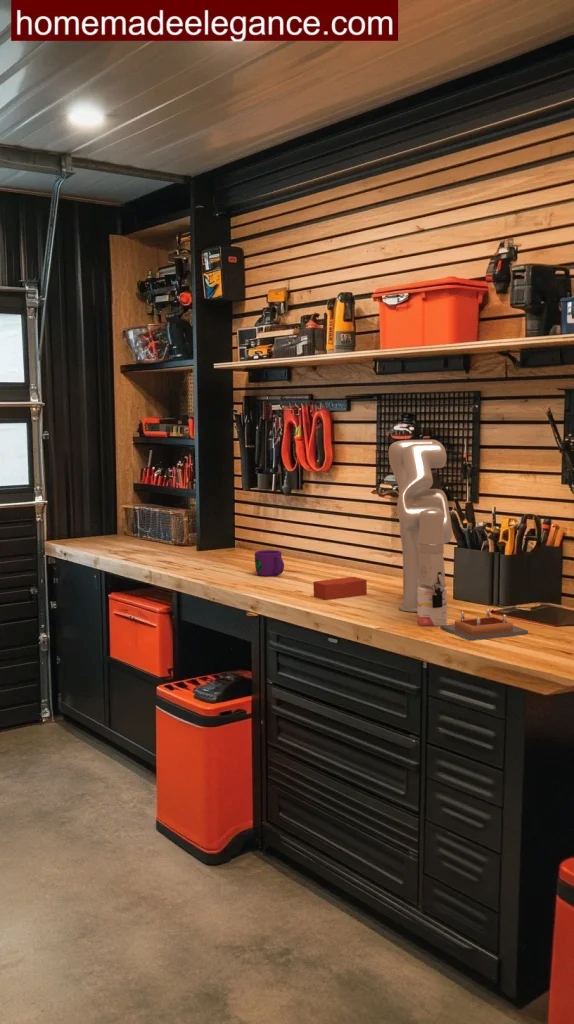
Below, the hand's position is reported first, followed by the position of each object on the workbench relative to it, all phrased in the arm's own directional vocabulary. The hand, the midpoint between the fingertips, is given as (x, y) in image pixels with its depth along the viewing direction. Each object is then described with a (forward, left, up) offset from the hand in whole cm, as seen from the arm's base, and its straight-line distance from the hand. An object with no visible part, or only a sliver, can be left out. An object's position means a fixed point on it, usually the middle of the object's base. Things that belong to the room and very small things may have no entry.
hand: (432, 605), depth 285 cm
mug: (-112, -15, -6) cm, 113 cm away
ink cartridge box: (0, 0, -6) cm, 6 cm away
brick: (-57, -7, -7) cm, 58 cm away
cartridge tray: (+16, +9, -6) cm, 19 cm away
